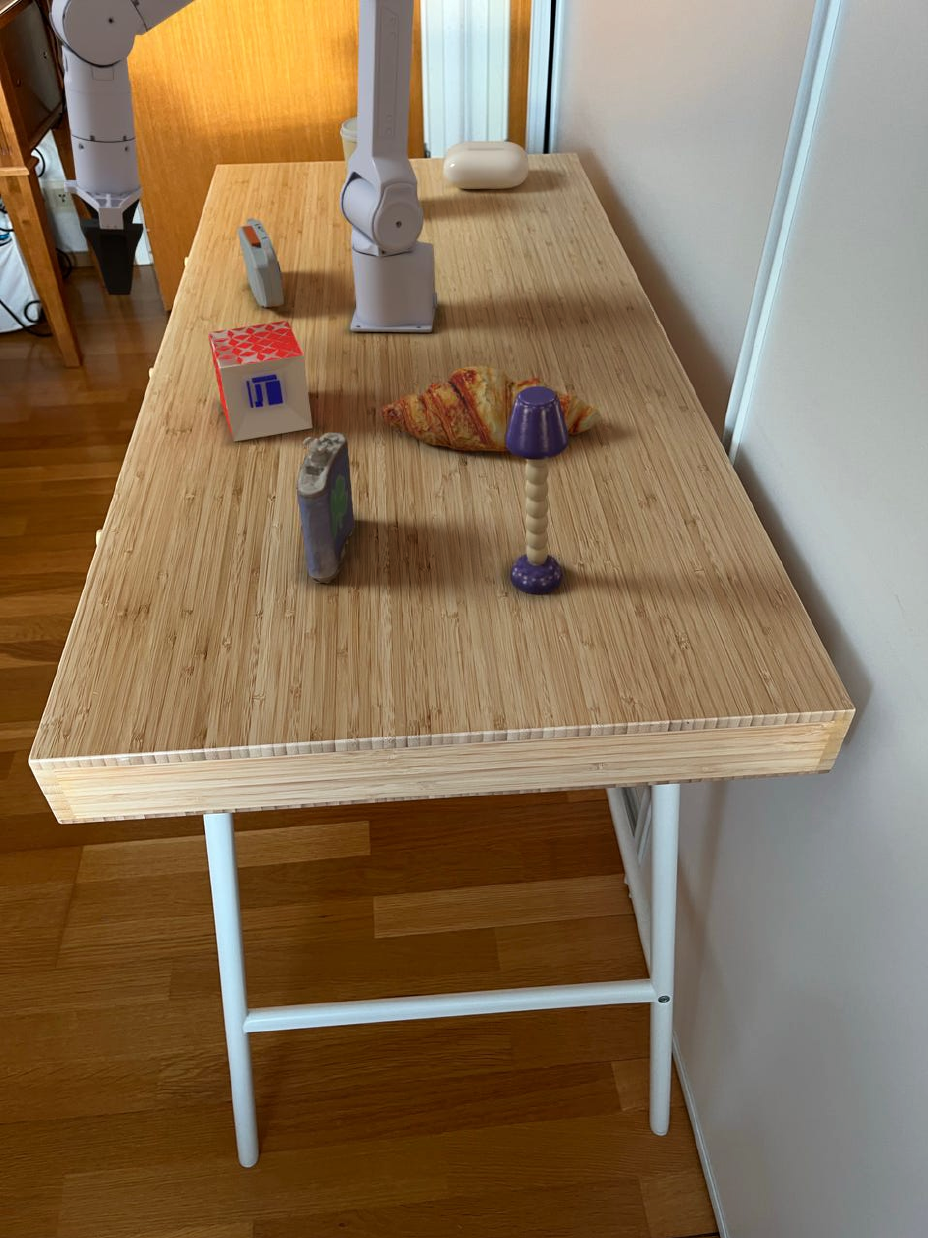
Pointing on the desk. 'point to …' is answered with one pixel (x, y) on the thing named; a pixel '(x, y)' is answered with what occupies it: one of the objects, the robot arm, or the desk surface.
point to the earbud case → (485, 165)
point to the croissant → (475, 410)
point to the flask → (325, 504)
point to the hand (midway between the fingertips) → (118, 279)
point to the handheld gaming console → (261, 264)
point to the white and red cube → (261, 380)
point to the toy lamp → (536, 481)
